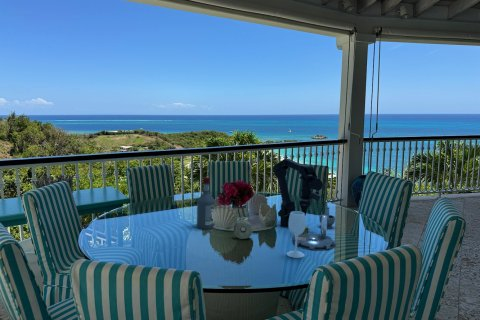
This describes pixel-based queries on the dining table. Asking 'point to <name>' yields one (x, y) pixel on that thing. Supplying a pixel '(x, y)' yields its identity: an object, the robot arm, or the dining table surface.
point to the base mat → (314, 249)
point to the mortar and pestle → (328, 218)
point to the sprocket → (316, 238)
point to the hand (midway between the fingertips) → (304, 213)
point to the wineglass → (296, 230)
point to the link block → (306, 229)
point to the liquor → (205, 207)
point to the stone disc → (243, 234)
